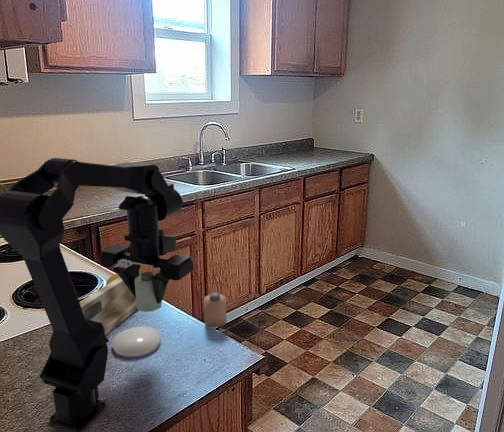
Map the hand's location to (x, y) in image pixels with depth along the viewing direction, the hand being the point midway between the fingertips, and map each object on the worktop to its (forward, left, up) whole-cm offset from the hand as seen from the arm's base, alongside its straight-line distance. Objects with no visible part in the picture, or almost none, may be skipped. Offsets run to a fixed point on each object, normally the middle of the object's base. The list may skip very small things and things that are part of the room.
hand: (148, 300), depth 89 cm
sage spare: (0, 0, -1) cm, 1 cm away
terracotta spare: (+14, -8, -11) cm, 20 cm away
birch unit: (+6, +15, -11) cm, 19 cm away
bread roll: (+22, +23, -11) cm, 33 cm away
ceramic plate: (0, +4, -11) cm, 12 cm away
